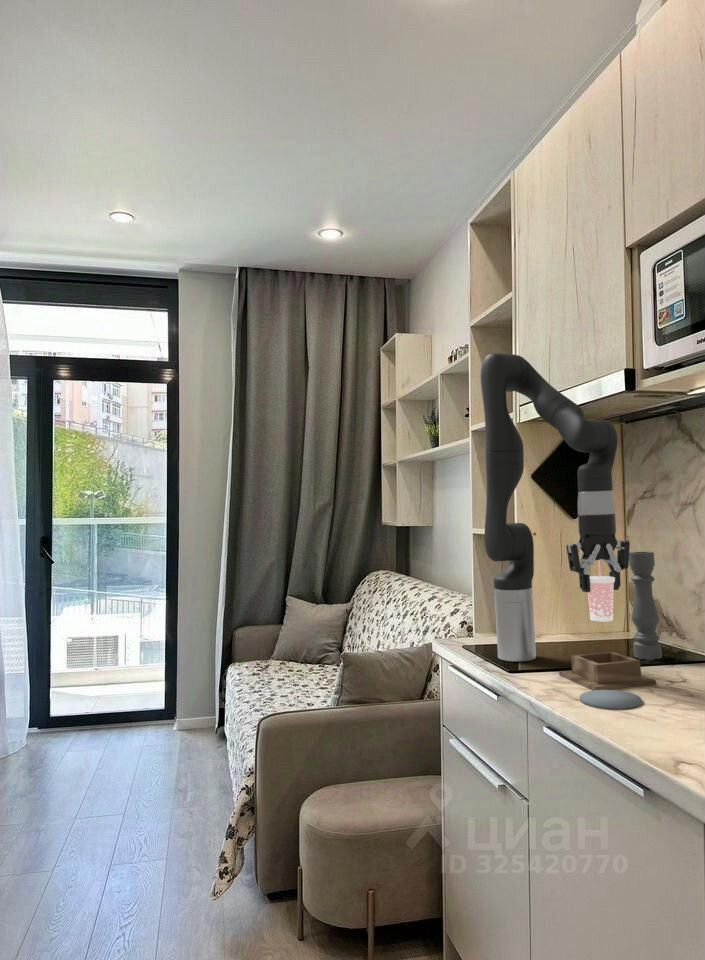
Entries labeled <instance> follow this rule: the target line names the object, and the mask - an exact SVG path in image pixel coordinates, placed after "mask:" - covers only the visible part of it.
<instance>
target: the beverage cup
mask: <svg viewBox="0 0 705 960" xmlns="http://www.w3.org/2000/svg"><path fill="white" fill-rule="evenodd" d="M597 572H598V573H597V574H598V575H590V592H587V599H588V608H589V617H590V618H589V619H590V620H591V621H592V622H601V623H602V622H604V623H605V622H606V623H607V622H612V621H614V591H615V590H614V582H615V577H610V576H608V575H602V571H601V559H600V560H597Z"/></svg>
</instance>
